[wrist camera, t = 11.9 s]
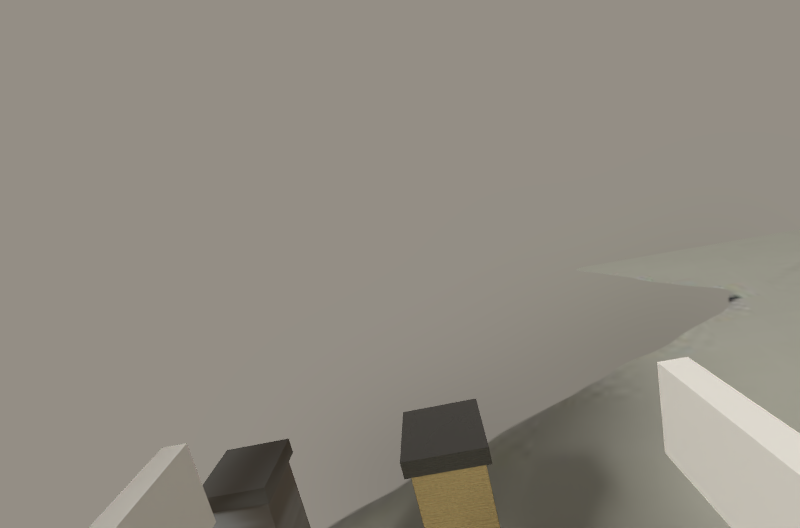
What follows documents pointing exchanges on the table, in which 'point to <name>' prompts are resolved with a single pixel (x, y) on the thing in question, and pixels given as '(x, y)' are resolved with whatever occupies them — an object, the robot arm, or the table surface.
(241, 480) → the tan and grey stand
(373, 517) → the table surface
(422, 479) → the brass leg
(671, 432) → the robot arm
